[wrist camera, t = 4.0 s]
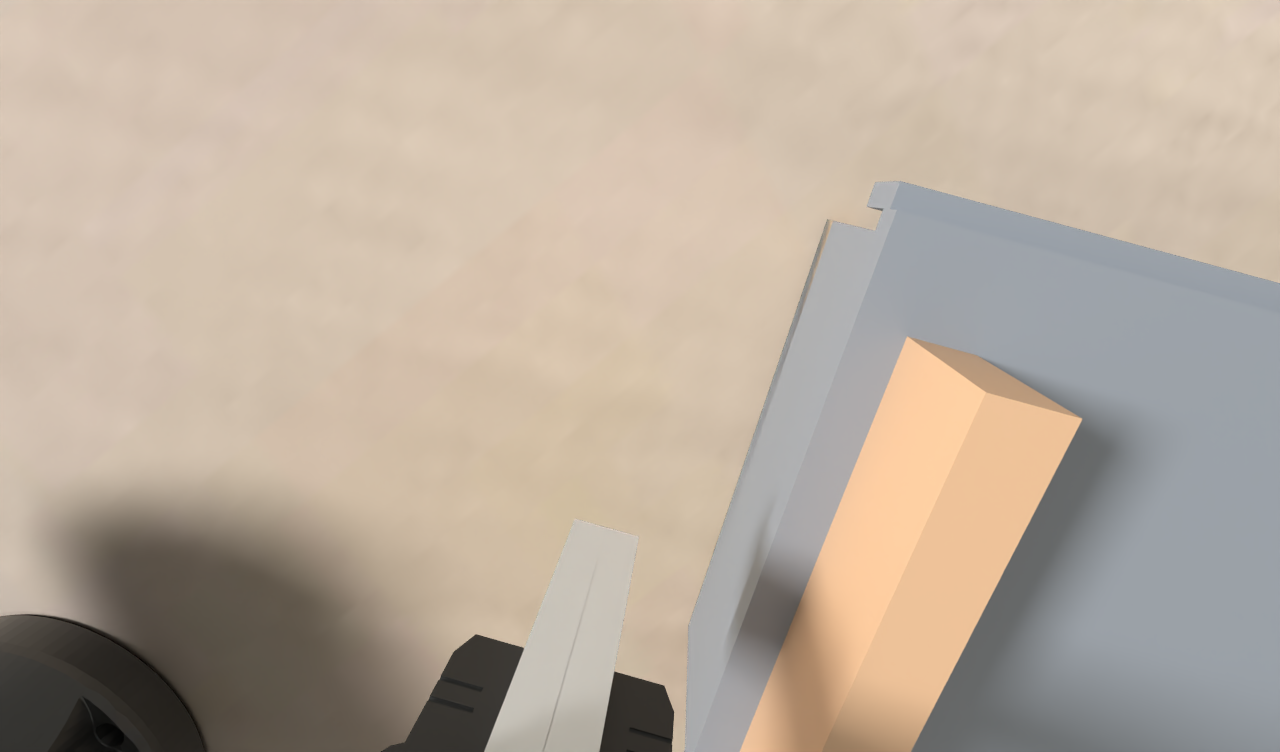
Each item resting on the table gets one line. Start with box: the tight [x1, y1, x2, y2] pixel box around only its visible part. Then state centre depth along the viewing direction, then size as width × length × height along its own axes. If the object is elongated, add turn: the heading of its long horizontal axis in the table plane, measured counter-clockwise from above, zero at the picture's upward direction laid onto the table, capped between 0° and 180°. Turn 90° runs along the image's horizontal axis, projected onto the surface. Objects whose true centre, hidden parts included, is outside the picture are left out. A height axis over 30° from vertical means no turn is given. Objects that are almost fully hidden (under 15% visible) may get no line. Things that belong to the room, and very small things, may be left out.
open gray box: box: [685, 220, 875, 748], centre depth 21 cm, size 18×18×8 cm
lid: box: [684, 181, 1280, 752], centre depth 15 cm, size 19×20×6 cm
